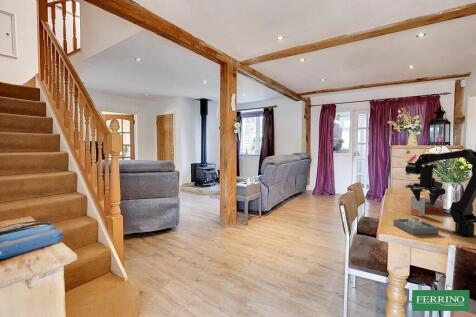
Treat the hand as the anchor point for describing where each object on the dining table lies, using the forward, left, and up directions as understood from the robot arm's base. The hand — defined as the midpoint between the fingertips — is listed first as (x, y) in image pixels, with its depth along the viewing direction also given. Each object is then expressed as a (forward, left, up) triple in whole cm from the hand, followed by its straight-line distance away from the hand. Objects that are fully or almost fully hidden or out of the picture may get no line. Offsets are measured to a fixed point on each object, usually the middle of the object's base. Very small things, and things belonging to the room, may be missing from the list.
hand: (425, 203), depth 135 cm
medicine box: (+21, -19, -12) cm, 31 cm away
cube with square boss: (-10, +14, -11) cm, 20 cm away
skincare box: (+14, -7, -11) cm, 19 cm away
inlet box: (-10, +14, -11) cm, 20 cm away
